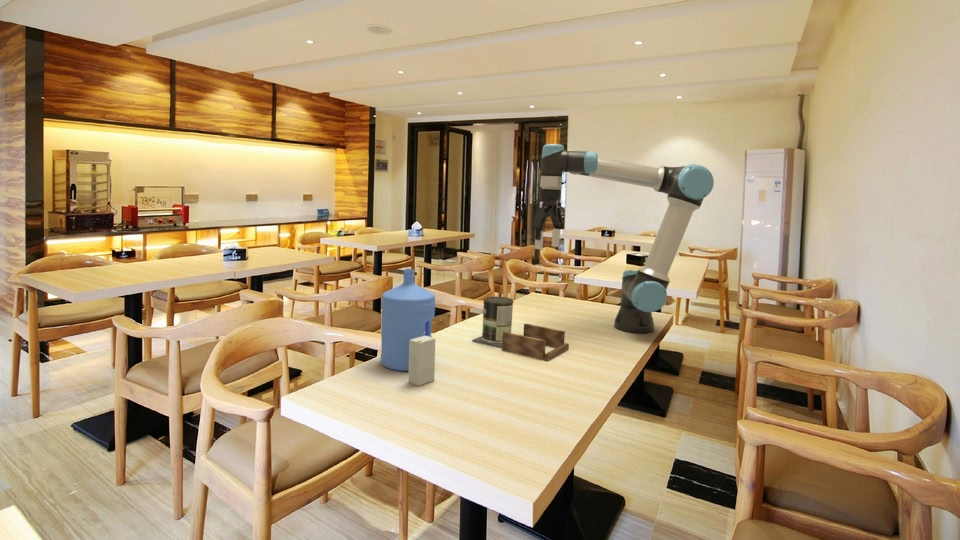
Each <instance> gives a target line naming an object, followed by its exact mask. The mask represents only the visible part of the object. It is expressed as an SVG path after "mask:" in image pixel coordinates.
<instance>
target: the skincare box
mask: <svg viewBox="0 0 960 540" xmlns="http://www.w3.org/2000/svg"><path fill="white" fill-rule="evenodd" d="M435 364H436V338H435V337H433V336H432V337H429V336H422V337H418V338H414V339H411V340H409V371H408V376H407V377H408V380H407V381H408V383H410V384H412V385H414V386H417V387H419V386H423V385H425V384H428V383H431V382H433V381H435V373H436V371H435V370H436V368H435V366H436V365H435Z"/></svg>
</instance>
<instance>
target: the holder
mask: <svg viewBox="0 0 960 540" xmlns="http://www.w3.org/2000/svg"><path fill="white" fill-rule="evenodd" d="M565 336H566V331H565V330H560V329H557V328H556V329H555V328H550V327H545V326H540V325H535V324H532V323H531V324H530V323H524V324H523V335H522V334H516V333H512V332H511V333H508V332H503V339H502V348H501V350H502V351H503V350H504V351H505V352H507V351H508V352H507V353H512V354H517V355H522V356H525V357H529V358H534V359H538V360H542V361H546V362H549V361H550V360H552V359H555V358H556V357H557V356H560V355H562V354H563V353H565V352H566V351H568V350H569V347H570V343H568V342H567V343H566V342H565V339H566V338H565ZM546 347H549V348H554V349H551V350H550V351H548V352H546Z"/></svg>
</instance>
